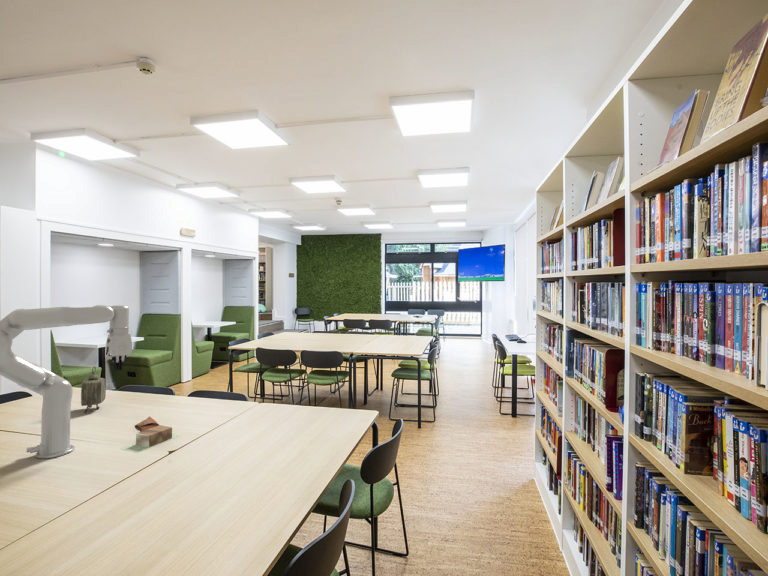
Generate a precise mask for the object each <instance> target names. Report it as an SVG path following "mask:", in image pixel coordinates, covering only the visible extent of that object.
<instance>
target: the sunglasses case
mask: <svg viewBox="0 0 768 576" xmlns="http://www.w3.org/2000/svg"><path fill="white" fill-rule="evenodd" d="M159 425H160V424H159V423H158V422H157V421H156V420H155V419H154V418H152V417H151V416H148V417H147V418H146V419H143V420H142V421H140V422H138V423H137V424H135V425H134V427H135V428H137V429H138V430H139V432H141V431H144V430H147V429H150V428H153V427H156V426H159Z"/></svg>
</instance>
